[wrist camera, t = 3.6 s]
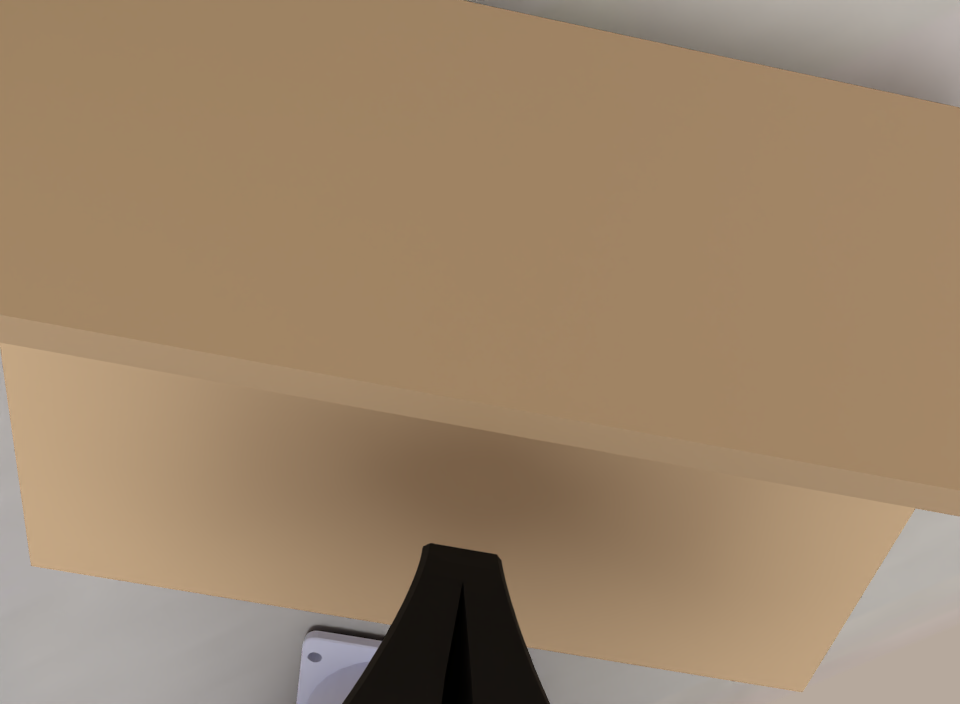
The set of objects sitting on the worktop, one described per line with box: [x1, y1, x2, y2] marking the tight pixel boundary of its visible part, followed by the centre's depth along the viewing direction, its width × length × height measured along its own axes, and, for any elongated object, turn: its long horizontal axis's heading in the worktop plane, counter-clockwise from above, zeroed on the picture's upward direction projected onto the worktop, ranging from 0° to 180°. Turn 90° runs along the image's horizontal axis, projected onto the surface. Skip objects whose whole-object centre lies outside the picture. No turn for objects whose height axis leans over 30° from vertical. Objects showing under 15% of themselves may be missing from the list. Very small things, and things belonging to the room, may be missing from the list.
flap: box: [0, 0, 960, 516], centre depth 10 cm, size 7×20×1 cm
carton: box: [0, 343, 915, 692], centre depth 17 cm, size 14×20×6 cm
